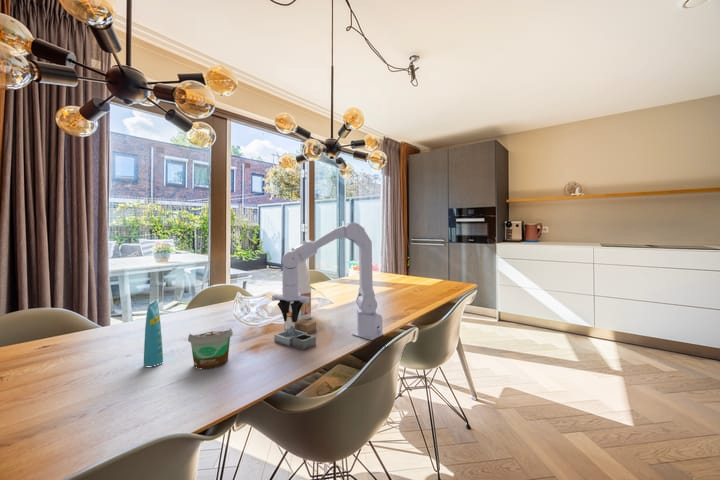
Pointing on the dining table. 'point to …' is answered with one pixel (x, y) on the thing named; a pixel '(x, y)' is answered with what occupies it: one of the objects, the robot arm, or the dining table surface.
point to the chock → (305, 326)
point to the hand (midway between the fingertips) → (290, 321)
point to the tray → (286, 337)
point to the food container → (210, 348)
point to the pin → (289, 324)
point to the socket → (303, 341)
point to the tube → (153, 336)
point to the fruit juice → (304, 288)
